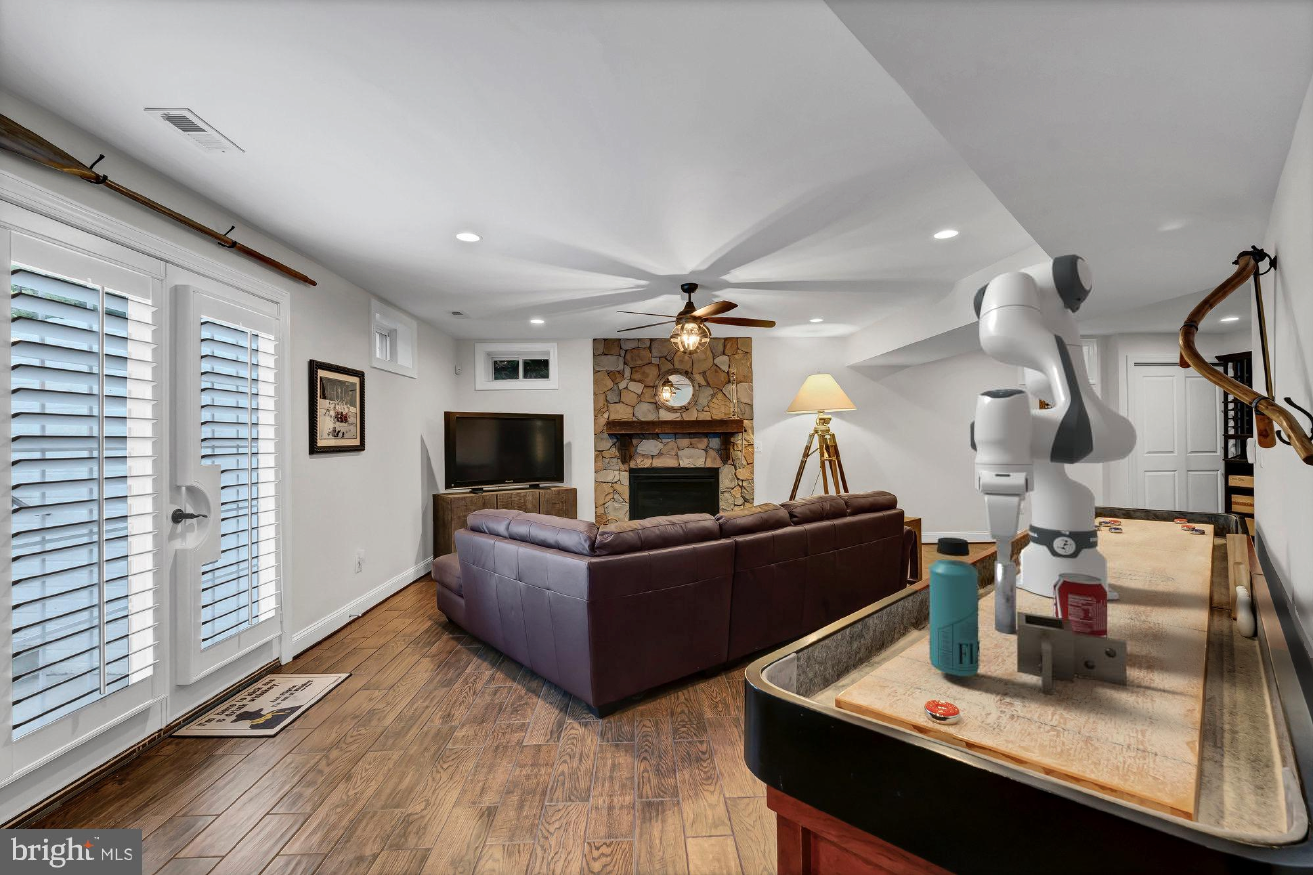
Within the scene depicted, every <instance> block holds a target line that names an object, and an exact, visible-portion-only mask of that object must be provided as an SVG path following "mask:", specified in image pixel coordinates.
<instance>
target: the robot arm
mask: <svg viewBox="0 0 1313 875" xmlns="http://www.w3.org/2000/svg"><path fill="white" fill-rule="evenodd" d="M1092 288H1093V273H1092V270H1091V268H1090V267H1089V264H1087V262H1086V261H1085V259H1083V257H1082V256H1079V255H1077V254H1076V253H1075V254H1066V255H1062V256H1061V255H1060V256H1056V257H1054V258H1053V259H1051V260H1046V261H1043V262H1039V263H1036V264H1033V265H1029V266H1026V267H1024V268H1020V270H1016V271H1007V272H1004V273H1001V274H1000V275H998V276H996V277H995V278H993V279H992V280H991V281H990V282H988V283H987V284H984V285H983V286H981V287H980V288H979V289H978V290H977V292H976V293H975V295H974V297H973V310H974V313H975V315H976V318H977V320H978V321H979V322H978V323H979V324H978V335H979V342H980V347H981V348H982V350H983V351H984V352H985V353H986V355H988V356H989V357H990V358H992V359H994V360H995V361H998V362H1000V363H1004V364H1006V365H1011V366H1016V367H1020V368H1021V367H1022V368H1023V374H1024V375H1023V376H1024V382H1025V383H1024V384H1025V388H1026V390H1027V391H1028V392H1027V391H1025V390H1023V389H1017V388H1014V389H1013V388H1007V389H1005V388H1004V389H994V390H987V391H984V392H982V393H980V394H978V396H977V402H976V405H975V406H976V407H975V415H974V420H973V421H972V422H970V432H969V433H970V436H969V437H970V438H969V439H970V448H971V449H972V450H973V451H974V452H976V455H975V459H974V489H975V490H978V491H979V492H980V493H981V494H982V499H983V500H984V506H985V508H984V509H985V514H986V522H987V528H988V533H989V537H990V539H992V540H995V547H996V554H997V559H996V561H998V563H999V564H1003V565H1009V564H1010V562H1011V554H1012V541H1013V542H1014V541H1015V540H1016V539H1017V536H1018V530H1019V525H1020V524H1019V523H1020V514H1021V507H1022V501H1023V502H1024V501H1026V494H1027V493H1029V498H1030V508H1031V510H1030V512H1031V523H1030V524H1029V527H1028V528H1029V529H1028V540H1029V541H1030V542H1029V544H1027V546H1025V547H1024V548H1023V549H1021V552H1020V553H1019V564H1020V566H1019V572H1020V573H1018V574H1016V588H1020V589H1023V590H1026V591H1028V592H1031V593H1034V594H1036V595H1040V596H1043V597H1044V596H1045V597H1049V598H1053V585H1054V584H1055V582H1056V581H1057V580H1058V579H1059V577H1058V575H1059V574H1061V573H1077V574H1085V575H1090V576H1094V577H1097V578H1100V579H1101V580H1102V583H1101V584H1102V586H1103V587H1104V588H1105V590H1106V591H1107V600H1119V599H1120V595H1119V593H1118V592H1116V591H1115V590H1113V589H1112V588H1111V587H1110V586H1109V582H1108V581H1109V580H1108V559H1107V557H1105V556H1104V555H1103V554H1102V553H1101V552H1100V551H1099V550H1098V549H1097V547H1099V544H1098V543H1099V535H1098V530H1097V529H1096V498H1095V495H1094V493H1093V492H1092V490H1091V489H1090V488H1089V487H1087V486H1086V485H1085V484H1082V483H1081V482H1079V481H1076V480H1073V479H1072V478H1070V477H1069V475H1068V474H1067V472H1066V469H1065V465H1074V464H1104V463H1110V462H1115V461H1121V460H1124V459H1126V458H1127V457H1128V456H1129V455H1130V454H1132V452H1133V451H1134V450H1135V446H1136V444H1137V439H1138V438H1137V431H1136V428H1135V427H1134V425H1133V424H1132V422H1131V421H1130V420H1129V419H1128V418H1127V417H1125V416H1124V415H1121V414H1120V413H1118V412H1116V411H1115V410H1113V409H1111V408H1110V407H1109V406H1108V405H1106V403H1105V402H1104V401H1103V400H1101V398H1100V397H1099V396H1098V394H1097V393H1096V392H1095V390H1094V388H1093V387H1092V384H1091V381H1090V379H1089V374H1088V371H1087V366H1086V361H1085V355H1084V354H1085V353H1084V348H1083V346H1084V345H1083V341H1082V337H1081V333H1080V330H1079V327H1078V324H1077V322H1076V319H1075V317H1074V314H1075V313H1076V312H1078V311H1079V310H1080V308H1081V305H1082V304H1083V303H1084V302H1085V301H1086V300H1087V298H1088V297H1089V295H1090V293H1091V291H1092ZM1028 393H1029V394H1030V395H1032V396H1033V397H1034V398H1037V399H1038V400H1041V401H1043V402H1046V403H1047V404H1048V405H1049V406H1051V407H1052V408H1046V409H1044V408H1043V409H1032V407H1031V402H1030V397H1029V394H1028Z"/></svg>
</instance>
